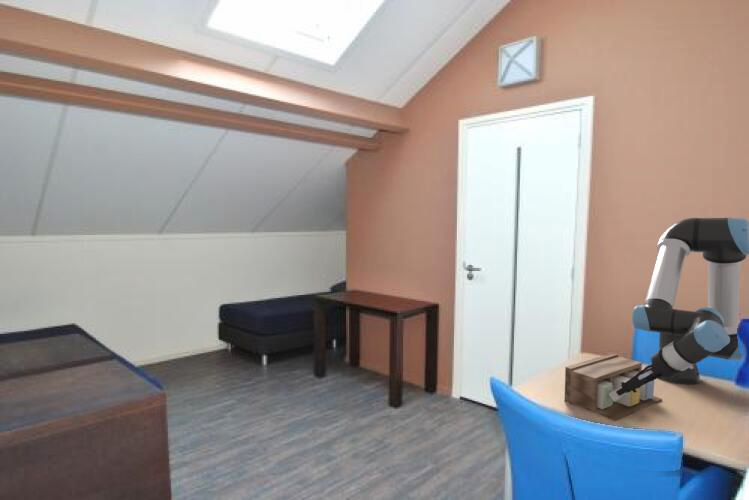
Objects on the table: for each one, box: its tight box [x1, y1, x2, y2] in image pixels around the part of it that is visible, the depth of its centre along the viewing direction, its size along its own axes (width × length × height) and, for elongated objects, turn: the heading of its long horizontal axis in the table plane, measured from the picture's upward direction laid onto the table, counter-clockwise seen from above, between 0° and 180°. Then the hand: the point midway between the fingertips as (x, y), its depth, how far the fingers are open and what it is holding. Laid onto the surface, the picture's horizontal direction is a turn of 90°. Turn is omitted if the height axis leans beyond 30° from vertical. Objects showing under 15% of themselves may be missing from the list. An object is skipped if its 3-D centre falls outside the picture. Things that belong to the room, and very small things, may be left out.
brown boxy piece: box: [564, 352, 663, 422], centre depth 153 cm, size 18×28×12 cm, turn 122°
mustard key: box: [613, 375, 640, 407], centre depth 150 cm, size 8×5×8 cm, turn 32°
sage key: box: [597, 380, 613, 409], centre depth 148 cm, size 8×5×8 cm, turn 32°
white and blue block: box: [628, 370, 655, 400], centre depth 155 cm, size 8×5×8 cm, turn 32°
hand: (612, 397), depth 144 cm, fingers closed
